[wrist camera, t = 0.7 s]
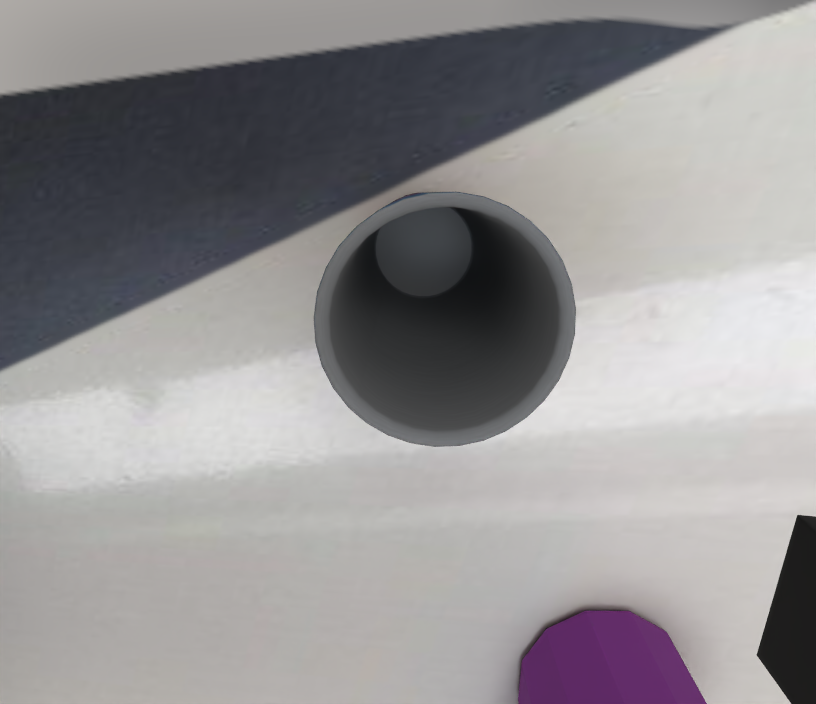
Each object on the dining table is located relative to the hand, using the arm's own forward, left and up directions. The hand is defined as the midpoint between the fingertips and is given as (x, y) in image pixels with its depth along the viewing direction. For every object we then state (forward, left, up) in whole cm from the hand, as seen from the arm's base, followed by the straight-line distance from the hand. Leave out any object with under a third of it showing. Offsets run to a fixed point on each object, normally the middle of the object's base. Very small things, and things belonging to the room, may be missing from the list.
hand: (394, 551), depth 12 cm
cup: (-2, +1, -23) cm, 23 cm away
